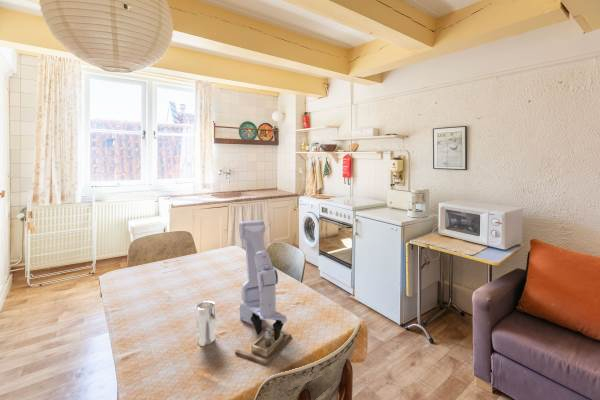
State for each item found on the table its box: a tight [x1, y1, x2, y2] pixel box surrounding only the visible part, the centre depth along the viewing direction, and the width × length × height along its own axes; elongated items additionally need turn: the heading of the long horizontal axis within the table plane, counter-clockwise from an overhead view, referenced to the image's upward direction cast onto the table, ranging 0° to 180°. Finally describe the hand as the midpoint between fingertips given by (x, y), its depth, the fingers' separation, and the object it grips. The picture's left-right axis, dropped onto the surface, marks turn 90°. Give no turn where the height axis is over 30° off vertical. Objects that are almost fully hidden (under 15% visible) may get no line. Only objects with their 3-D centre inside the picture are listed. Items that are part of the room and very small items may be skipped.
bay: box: [234, 325, 292, 366], centre depth 110 cm, size 13×18×2 cm
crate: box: [251, 327, 285, 358], centre depth 109 cm, size 7×11×6 cm, turn 154°
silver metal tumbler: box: [195, 300, 217, 347], centre depth 112 cm, size 7×7×15 cm
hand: (268, 336), depth 109 cm, fingers open, 7 cm apart
